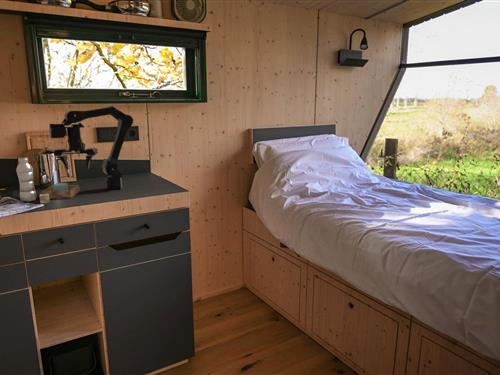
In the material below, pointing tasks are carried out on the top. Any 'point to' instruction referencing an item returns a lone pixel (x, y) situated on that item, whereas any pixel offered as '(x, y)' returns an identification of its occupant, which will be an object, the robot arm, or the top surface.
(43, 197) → the birch cube
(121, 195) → the top surface
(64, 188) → the teal block
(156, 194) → the top surface
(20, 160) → the plastic bottle
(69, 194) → the serving box
